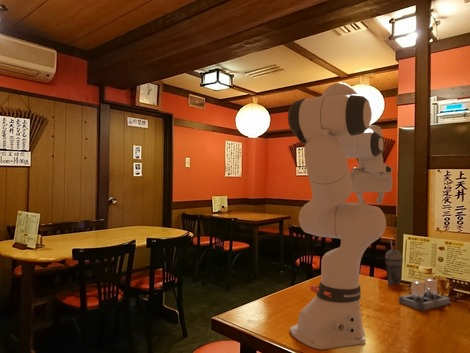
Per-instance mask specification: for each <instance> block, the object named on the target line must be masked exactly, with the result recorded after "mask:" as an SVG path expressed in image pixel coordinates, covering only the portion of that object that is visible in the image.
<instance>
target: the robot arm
mask: <svg viewBox="0 0 470 353" xmlns="http://www.w3.org/2000/svg"><path fill="white" fill-rule="evenodd" d="M372 115H373V113H372V107H371V105H370V102H369V100H368V99H367V98H366V97H365V96H363V95H360V94H358V93H357V91H355V89H354V88H353V87H352V86H350V85H349V84H347V83H343V82H336V83H333V84H331V85H329V86H328V87H326V88H325V90H324V91H323V92H322V94H321V95H320V96H316V97H314V96H313V97H310V98H301V99H298V100H295V101H293V102H292V103H291V105H290V106H289V109H288V113H287V123H288V126H289V129H290V131H291V132H292V134H293V135H294V136H295V137H296V138H297V140H298V141H299V143H302V144H304V148H303V149H304V152H303V155H304V164H305V169H306V173H307V177H308V180H309V184H310V189H311V195H312V196H311V199H310V200H309V201H308V202H307V203H305V204H304V205H303V206H302V207H301V209H300V210H299V214H298V223H299V226H300V228H301V230H302V231H303V232H304V233H306V234H310V235H312V236H315V237H322V238H330V239H339V240H340V246H339V247H337V248H334V249H333V248H332V249H331V250H329V251H327V252H325V253H324V255H323V256H322V257H321V260H320V262H321V264H320V266H321V268H320V269H321V271H320V272H321V273H320V274H321V275H320V278H321V279H320V280H321V281H320V282H319V284H318V285H316V284H311V285H310V286H309V290H310V291H311V292H313V293H316V295H315V296H314V297H313V299H311V300H310V301H309V302H308V303H307V304H306V305H305V306H304V307H303V308H302V309H301V310H300V312H299V315H298V319H297V324H294V325H292V326H290V327H289V331H290V334H291V335H292V336H293V337H294V338H295V339H296V340H298V341H299V342H300V343H302V344H304V345H305V346H308V347H309V348H310V347H311V348H313V349H317V350H327V349H334V348H341V347H343V348H344V347H349V346H354V345H355V346H356V345H363V344H366V337H365V330H364V327H363V320H362V319H363V318H362V310H361V305H360V299H361V297H362V296H361V294H362V290H361V285H360V271H361V270H360V268H361V261H362V258H363V255H364V253H365V251H366V250H367V249H368V247H369V246H370V245H371V244H373V243H374V242H376V241H377V240H379V239H380V238H381V237H382V236H383V235H384V233H385V231H386V228H387V218H386V216H385V213H384V212H383V210H382V209H381V208H380V207H379V206H376V205H375V206H374V205H370V204H366V203H365V202H366V200H365V199H364V197H363V195H364V193H377V198H376V199H375V203H376V204H377V205H378V204H379V205H381V204H383V199H384V197H385V193H390V192H391V191H392V190H393V176H392V173H393V167H392V166H390V165H387V164H386V163H385V162H384V157H383V152H384V151H385V139H384V136H383V130H382V128H381V126H379V125H375V124H370V123H371V120H372ZM347 159H358V167H356V166H355V167H353V168H352V169H351V170H350V168H349V164H348V163H349V162H348V160H347ZM352 193H355V196H356V197H357V200H358V202H356V203H355V202H346V201H347V200H348V199H349V198H350V196H351V194H352Z"/></svg>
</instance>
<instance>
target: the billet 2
mask: <svg viewBox="0 0 470 353" xmlns="http://www.w3.org/2000/svg"><path fill="white" fill-rule="evenodd" d="M424 291H425V297H426V298H429V299H432V300H435V299H437V294H438V280H437V279H434V278H429V277H428V278H424Z"/></svg>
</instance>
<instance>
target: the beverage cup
mask: <svg viewBox="0 0 470 353" xmlns="http://www.w3.org/2000/svg"><path fill="white" fill-rule="evenodd" d="M390 248H391V249H390V250H387V251H386V253H385V256H384V259H385V260H384V261H385V265H386V279H387V280H386V281H387V285H388V286H396V285H400V283H401V273H402V265H403V259H404V258H403V255H402V253H401V252H400V251H399V250H397V249H393V242H392V239H390Z"/></svg>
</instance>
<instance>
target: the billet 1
mask: <svg viewBox="0 0 470 353" xmlns="http://www.w3.org/2000/svg"><path fill="white" fill-rule="evenodd" d="M424 291H425V282H423V281H420V280H412V281H411V294H412V300H413V301H416V302H418V303H423V302H424Z"/></svg>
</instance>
